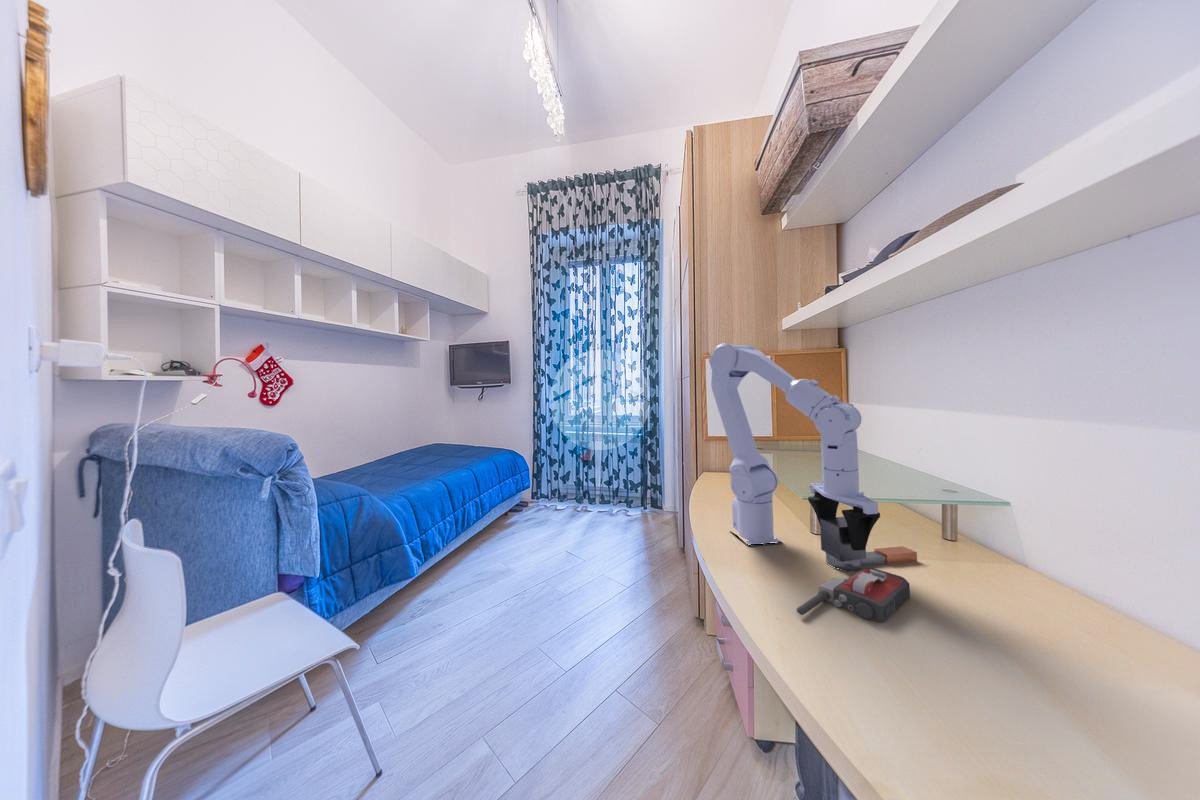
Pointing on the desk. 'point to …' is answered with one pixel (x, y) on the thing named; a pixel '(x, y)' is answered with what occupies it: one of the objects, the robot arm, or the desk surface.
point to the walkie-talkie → (864, 594)
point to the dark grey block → (838, 539)
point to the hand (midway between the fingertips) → (842, 541)
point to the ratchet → (875, 558)
